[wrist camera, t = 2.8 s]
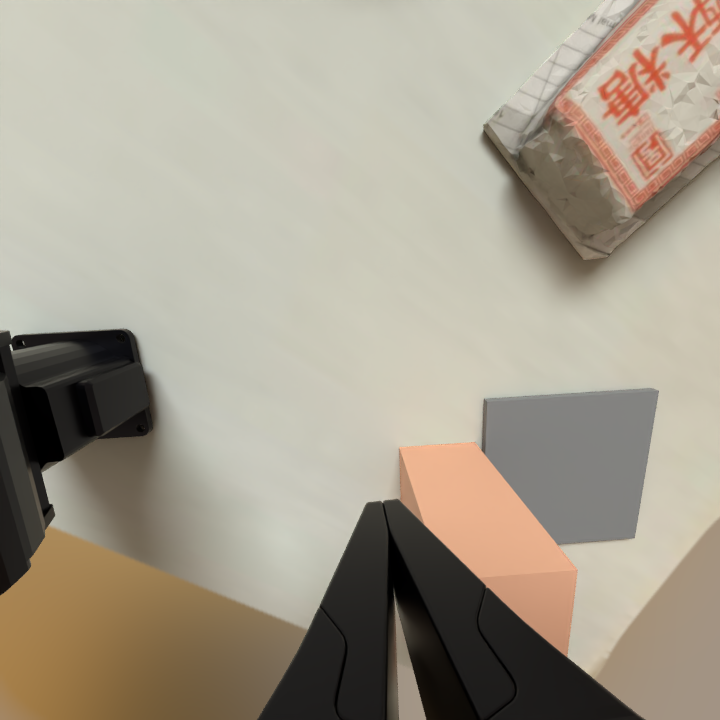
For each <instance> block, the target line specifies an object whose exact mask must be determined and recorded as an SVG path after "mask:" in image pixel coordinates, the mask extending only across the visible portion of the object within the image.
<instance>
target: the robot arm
mask: <svg viewBox="0 0 720 720" xmlns="http://www.w3.org/2000/svg"><path fill="white" fill-rule="evenodd" d="M121 334H122V335H124V337H125V341H123V340H122V339H121ZM23 341H24V342H25V346H24V345H23ZM10 344H12V348H13V351H11V350H10V346H9V345H10ZM149 404H150V403H149V398H148V393H147V388H146V384H145V379H144V374H143V369H142V366H141V365H140V363H139V358H138V353H137V349H136V344H135V339H134V336H133V333H132V332H131V331H129V330H127V329H110V330H92V331H74V332H56V333H38V334H23V335H17V336H14V337H13V338H12V339H11V335H10V331H0V595H1V594H3V593H4V592H6V591H7V590H8V589H9V588H10V587H11V586H12V585H13V584H14V583H16V582H17V581H18V580H19V579H20V578H21V577H22V576H23V575H24V574H25V573H26V572H27V571H28V570H29V568H30V567H31V563H30V558H31V557H32V555H33V554H34V553H35V551H36V550H37V548H38V547H39V545H40V544H41V542H42V540H43V539H44V537H45V530H46V528H47V527H48V525H49V524H50V522H51V521H52V520H53V518H54V517H55V512H54V508H53V505H52V504H49V501H48V497H47V493H46V489H45V485H44V481H43V477H42V472H44V471H45V470H47V469H49V468H50V467H52V466H53V465H55V464H57V463H58V462H60V461H62V460H64V459H66V458H67V457H69V456H70V455H72V454H74V453H75V452H77V451H78V450H80V449H81V448H83V447H85V446H86V445H88V444H89V443H91V442H93V441H94V440H96V439H104V438H120V437H135V436H144V435H146V434H147V433H149V432H150V431H151V430H152V428H153V425H152V420H151V415H150V410H149ZM140 425H143V426H144V428H145V429H142V428H141V427H140ZM394 595H395V600H396V605H397V609H398V613H399V617H400V621H401V624H402V628H403V632H404V636H405V640H406V643H407V647H408V651H409V655H410V659H411V663H412V666H413V670H414V674H415V677H416V682H417V685H418V689H419V693H420V697H421V701H422V704H423V708H424V712H425V716H426V720H645V719H644V718H642V717H641V716H639V715H638V714H637V713H635V712H634V711H633V710H632V709H630V708H629V707H628V706H626V705H625V704H624V703H623V702H621V701H620V700H619V699H618V698H616V697H615V696H614V695H613V694H612V693H610V692H609V691H608V690H607V689H605V688H604V687H603V686H602V685H601V684H599V683H598V682H597V681H596V680H594V679H593V678H592V677H591V676H590V675H588V674H587V673H586V672H585V671H583V670H582V669H581V668H580V667H578V666H577V665H576V664H575V663H574V662H572V661H571V660H570V659H569V658H567V657H566V656H565V655H564V654H563V653H561V652H560V651H559V650H558V649H556V648H555V647H554V646H553V645H551V644H550V643H549V642H548V641H547V640H546V639H544V638H543V637H542V636H541V635H540V634H538V633H537V632H536V631H535V630H534V629H533V628H531V627H530V626H529V625H528V624H527V623H526V622H524V621H523V620H522V619H521V618H520V617H519V616H518V615H517V614H516V613H515V612H514V611H513V610H511V609H510V608H509V607H508V606H507V605H506V604H505V603H504V602H503V601H502V600H501V599H500V598H499V597H498V596H497V595H496V594H495V593H494V592H493V591H492V590H491V589H490V588H487V587H486V585H485V584H484V583H483V582H482V581H481V580H480V579H479V578H478V577H477V576H476V575H475V574H474V573H473V572H472V571H471V570H470V569H469V568H468V567H467V566H466V565H465V564H464V563H463V562H462V561H461V560H460V559H459V558H458V557H457V556H456V555H455V554H454V553H453V552H452V551H451V550H450V549H449V548H448V547H447V546H446V545H445V544H444V543H443V542H442V541H441V540H439V539H438V538H437V537H436V536H435V535H434V534H433V533H432V532H431V531H430V530H429V529H428V528H427V527H426V526H425V525H424V524H423V523H422V522H421V521H420V520H419V519H418V518H417V517H416V516H415V515H414V514H413V513H412V512H411V511H410V510H409V509H408V508H407V507H406V506H405V505H404V504H403V503H402V502H401V501H400V500H398V499H393V500H385V501H384V502H383V503H382V502H381V501H376V502H368V503H367V504H366V505H365V507H364V509H363V512H362V514H361V516H360V518H359V520H358V523H357V525H356V527H355V529H354V531H353V534H352V536H351V538H350V540H349V542H348V544H347V547H346V549H345V551H344V553H343V555H342V558H341V560H340V562H339V564H338V566H337V569H336V571H335V573H334V575H333V577H332V579H331V582H330V584H329V586H328V588H327V590H326V593H325V595H324V597H323V599H322V601H321V604H320V606H319V609H318V610H317V612H316V614H315V616H314V618H313V621H312V623H311V625H310V627H309V629H308V631H307V633H306V635H305V637H304V639H303V641H302V643H301V645H300V647H299V649H298V651H297V653H296V655H295V656H294V658H293V660H292V662H291V663H290V665H289V667H288V669H287V670H286V672H285V674H284V676H283V678H282V679H281V681H280V683H279V684H278V686H277V688H276V689H275V691H274V693H273V694H272V696H271V698H270V699H269V701H268V703H267V704H266V706H265V708H264V709H263V711H262V713H261V714H260V716H259V718H258V719H257V720H399V714H398V686H397V685H398V683H397V653H396V624H395V602H394Z"/></svg>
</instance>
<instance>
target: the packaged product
mask: <svg viewBox="0 0 720 720" xmlns="http://www.w3.org/2000/svg"><path fill="white" fill-rule="evenodd" d="M483 127H484V131H485V132H486V133H487V135H488V136H489V138H490V139H491V140H492V142H493V143H494V145H495V146H496V147H497V149H498V150H499V151H500V152H501V154H502V155H503V156H504V158H505V159H506V160H507V162H508V163H509V164H510V166H511V167H512V168H513V170H514V171H515V172H516V174H517V175H518V176H519V178H520V179H521V180H522V182H523V183H524V184H525V186H526V187H527V188H528V190H529V191H530V192H531V194H532V195H533V196H534V197H535V198H536V200H537V201H538V202H539V203H540V204H541V205H542V206H543V208H544V209H545V210H546V212H547V213H548V214H549V216H550V217H551V219H552V220H553V221H554V223H555V224H556V225H557V227H558V228H559V229H560V230H561V232H562V233H563V234H564V236H565V237H566V238H567V239H568V241H569V242H570V243H571V244H572V246H573V247H574V248H575V249H576V251H577V252H578V253H579V255H580V256H581V257H582V258H583V260H591V259H598V258H605V257H608V256H609V255H610V254H611V253H612V251H613V250H614V249H615V247H616V246H618V245H619V244H621V243H622V242H624V241H625V240H626V239H627V238H628V237H629V236H630V235H631V234H632V233H633V232H634V231H635V230H636V229H638V228H639V227H640V226H641V225H642V224H644V223H645V222H646V221H647V220H648V219H649V218H650V217H651V216H652V215H653V214H654V213H655V212H657V211H658V210H659V209H660V208H661V207H662V206H663V205H664V204H665V203H667V202H668V201H669V200H670V199H671V198H672V197H673V196H674V195H675V194H676V193H677V192H678V191H679V190H680V189H681V188H683V187H684V186H686V185H687V184H688V183H689V182H690V181H691V180H692V179H693V178H694V177H695V176H696V175H698V174H699V173H700V172H701V171H702V170H703V169H704V168H705V167H706V166H707V165H708V164H710V163H711V162H712V161H714V160H715V159H716V158H717V157H718V156H720V0H604V1H603V2H602V4H601V5H600V6H599V7H598V8H597V9H596V10H595V11H594V12H593V13H592V14H591V15H590V16H589V17H588V18H587V19H586V20H585V21H584V22H583V24H582V25H581V26H580V27H579V28H578V29H577V30H576V31H575V32H573V33H572V34H571V35H570V36H569V37H568V38H567V39H566V40H565V41H564V42H563V43H562V44H561V45H560V46H559V47H558V48H557V49H556V50H555V51H554V52H553V53H552V54H551V55H550V56H549V58H548V59H547V60H546V61H545V62H544V63H543V64H542V65H541V66H540V67H539V68H538V69H537V70H536V71H535V72H534V73H533V74H532V75H531V76H530V77H529V79H528V80H527V81H526V82H525V83H524V84H523V85H522V86H521V87H520V88H519V90H518V91H517V92H516V93H515V94H514V95H513V96H512V97H511V98H510V99H509V100H508V101H507V102H506V103H505V104H504V105H503V106H502V107H501V108H500V109H499V110H498V111H497V112H496V113H495V114H494V115H493V116H492V117H491V118H490V119H489V120H488V121H487V122H486V123H485V124H484V125H483Z"/></svg>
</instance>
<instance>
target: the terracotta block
mask: <svg viewBox="0 0 720 720" xmlns="http://www.w3.org/2000/svg"><path fill="white" fill-rule="evenodd" d="M399 452H400V490H401V502H402V503H403V504H404V505H405V506H406V507H407V508H408V509H409V510H410V511H411V512H412V513H413V514H414V515H415V516H416V517H417V518H418V519H419V520H420V521H421V522H422V523H423V524H424V525H425V526H426V527H427V528H428V529H429V530H430V531H431V532H432V533H433V534H434V535H435V536H436V537H437V538H438V539H439V540H441V541H442V542H443V543H444V544H445V545H446V546H447V547H448V548H449V549H450V550H451V551H452V552H453V553H454V554H455V555H456V556H457V557H458V558H459V559H460V560H461V561H462V562H463V563H464V564H465V565H466V566H467V567H468V568H469V569H470V570H471V571H472V572H473V573H474V574H475V575H476V576H477V577H478V578H479V579H480V580H481V581H482V582H483V583H484V584H485V585H486V587H487V588H490V589H491V590H492V591H493V592H494V593H495V594H496V595H497V596H498V597H499V598H500V599H501V600H502V601H503V602H504V603H505V604H506V605H507V606H508V607H509V608H510V609H511V610H513V611H514V612H515V613H516V614H517V615H518V616H519V617H520V618H521V619H522V620H523V621H524V622H526V623H527V624H528V625H529V626H530V627H531V628H533V629H534V630H535V631H536V632H537V633H538V634H540V635H541V636H542V637H543V638H544V639H546V640H547V641H548V642H549V643H550V644H551V645H553V646H554V647H555V648H556V649H558V650H559V651H560V652H561V653H563V654H564V655H565V656H566V657H567V654H568V646H569V637H570V629H571V621H572V612H573V604H574V596H575V588H576V579H577V571H578V570H577V569H576V567H575V566H574V565H573V564H572V562H571V561H570V560H569V559H568V557H567V556H566V555H565V554H564V552H563V551H562V550H561V549H560V547H559V546H558V545H557V544H556V542H555V541H554V540H553V539H552V537H551V536H550V535H549V534H548V533H547V531H546V530H545V529H544V528H543V526H542V525H541V524H540V523H539V521H538V520H537V519H536V518H535V516H534V515H533V514H532V513H531V511H530V510H529V509H528V508H527V506H526V505H525V504H524V503H523V501H522V500H521V499H520V498H519V497H518V495H517V494H516V493H515V492H514V490H513V489H512V488H511V487H510V485H509V484H508V483H507V482H506V480H505V479H504V478H503V477H502V475H501V474H500V473H499V472H498V470H497V469H496V468H495V467H494V465H493V464H492V463H491V462H490V461H489V459H488V458H487V457H486V456H485V454H484V453H483V452H482V451H481V449H480V448H479V447H478V446H477V444H476V443H475V442H471V443H456V444H441V445H426V446H411V447H399Z"/></svg>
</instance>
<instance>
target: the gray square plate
mask: <svg viewBox="0 0 720 720" xmlns="http://www.w3.org/2000/svg"><path fill="white" fill-rule="evenodd" d="M658 393H659V391H658V390H655V389H652V388H649V389H634V390H618V391H602V392H586V393H571V394H555V395H539V396H523V397H508V398H492V399H484V415H483V442H482V452H483V453H484V454H485V456H486V457H487V458H488V459H489V461H490V462H491V463H492V464H493V465H494V467H495V468H496V469H497V470H498V472H499V473H500V474H501V475H502V477H503V478H504V479H505V480H506V482H507V483H508V484H509V485H510V487H511V488H512V489H513V490H514V492H515V493H516V494H517V495H518V497H519V498H520V499H521V500H522V501H523V503H524V504H525V505H526V506H527V508H528V509H529V510H530V511H531V513H532V514H533V515H534V516H535V518H536V519H537V520H538V521H539V523H540V524H541V525H542V526H543V528H544V529H545V530H546V531H547V533H548V534H549V535H550V536H551V537H552V539H553V540H554V541H555V542H556V544H566V543H579V542H592V541H605V540H618V539H631V538H635V533H636V527H637V521H638V515H639V509H640V503H641V496H642V490H643V484H644V478H645V472H646V466H647V460H648V454H649V448H650V442H651V435H652V429H653V423H654V417H655V411H656V405H657V399H658Z"/></svg>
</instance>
